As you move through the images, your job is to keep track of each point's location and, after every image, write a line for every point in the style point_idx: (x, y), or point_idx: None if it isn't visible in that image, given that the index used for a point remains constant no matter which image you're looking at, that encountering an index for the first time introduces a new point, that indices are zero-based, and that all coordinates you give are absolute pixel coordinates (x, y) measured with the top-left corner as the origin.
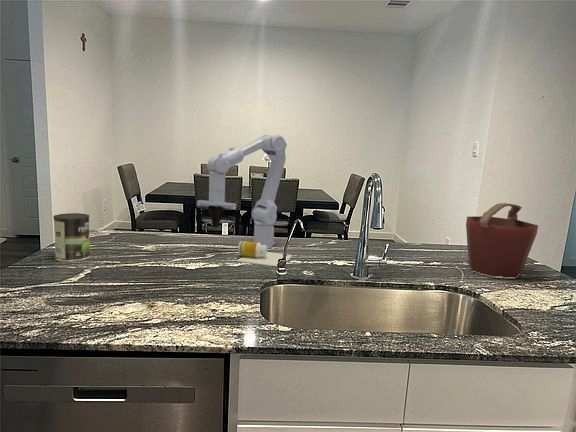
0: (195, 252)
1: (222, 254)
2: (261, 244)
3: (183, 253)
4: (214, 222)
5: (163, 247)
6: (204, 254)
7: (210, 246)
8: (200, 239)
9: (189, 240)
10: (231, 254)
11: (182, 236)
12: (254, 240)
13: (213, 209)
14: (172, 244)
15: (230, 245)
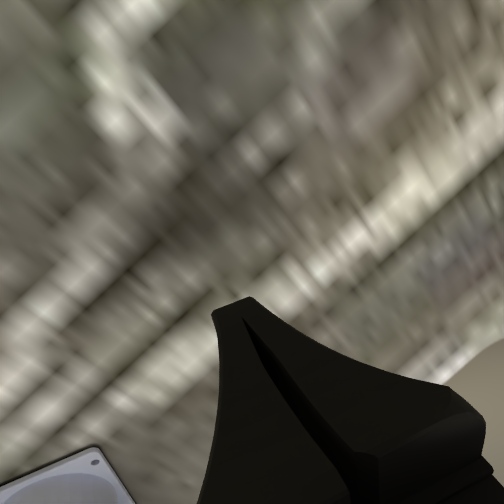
0: (270, 96)
1: (79, 195)
2: (20, 500)
3: (323, 7)
4: (254, 334)
5: (497, 52)
6: (183, 97)
7: (281, 278)
8: (399, 329)
9: (435, 277)
10: (27, 244)
11: (491, 300)
12: (87, 499)
13: (367, 483)
14: (477, 150)
15: (204, 375)
